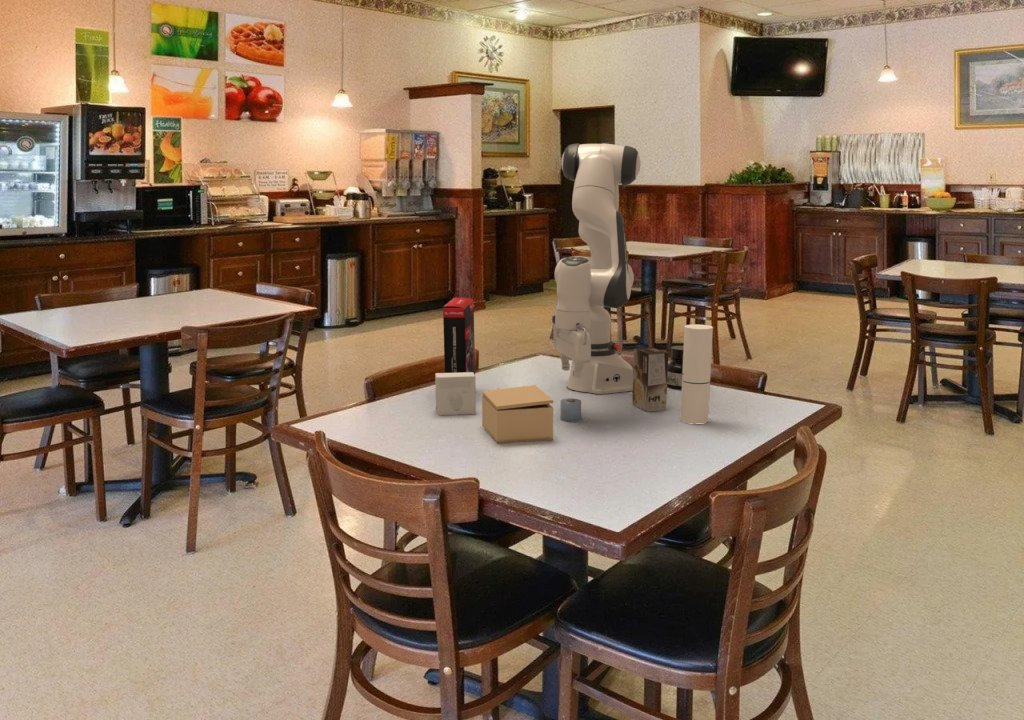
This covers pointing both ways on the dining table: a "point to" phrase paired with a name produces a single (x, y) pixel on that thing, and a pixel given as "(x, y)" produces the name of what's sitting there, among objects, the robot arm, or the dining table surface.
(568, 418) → the tape roll
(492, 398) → the lid flap
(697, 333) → the cylindrical container
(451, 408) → the skincare box
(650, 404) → the coffee box
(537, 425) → the carton
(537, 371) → the dining table surface
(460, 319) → the graphics card box
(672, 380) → the ink bottle
